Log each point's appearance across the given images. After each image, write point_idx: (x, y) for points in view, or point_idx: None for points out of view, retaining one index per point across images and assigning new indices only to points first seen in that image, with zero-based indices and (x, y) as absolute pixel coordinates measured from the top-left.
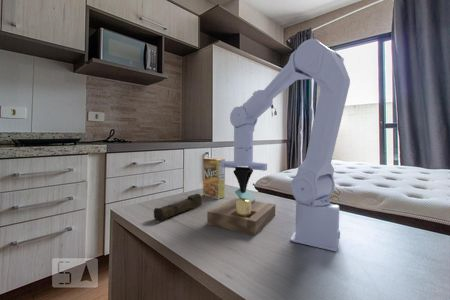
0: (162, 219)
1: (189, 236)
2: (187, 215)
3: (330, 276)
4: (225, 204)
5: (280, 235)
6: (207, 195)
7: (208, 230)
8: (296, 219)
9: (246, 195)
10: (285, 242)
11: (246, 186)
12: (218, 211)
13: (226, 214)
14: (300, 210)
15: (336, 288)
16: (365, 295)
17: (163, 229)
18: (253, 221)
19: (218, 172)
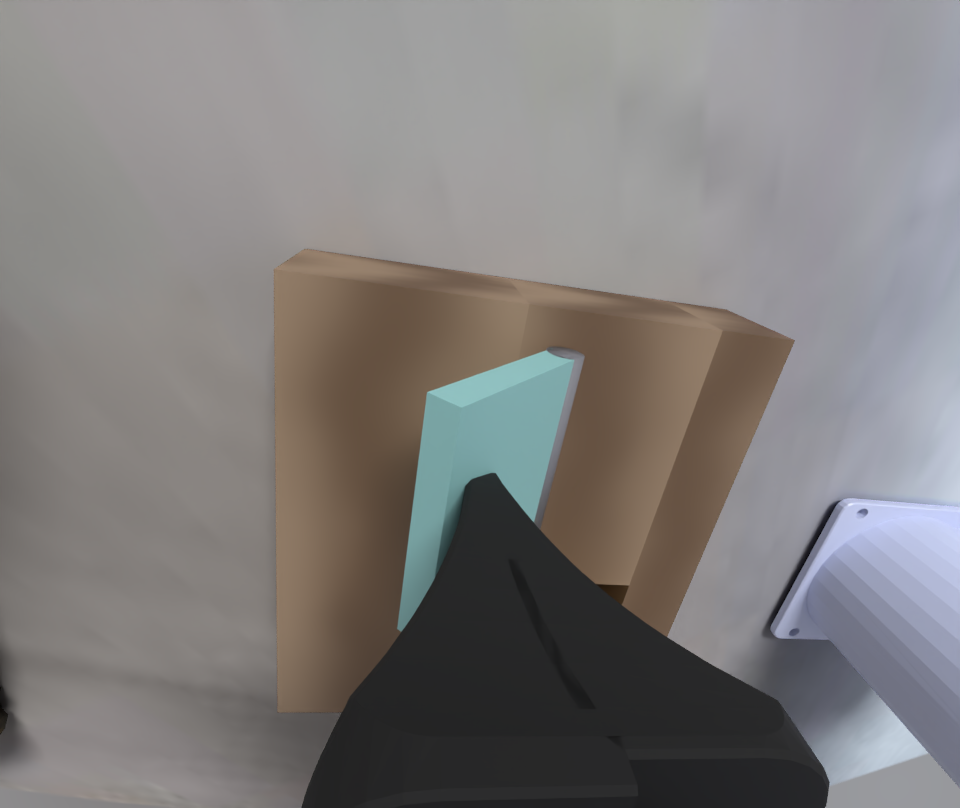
0: (4, 726)
1: (308, 752)
2: (50, 575)
3: (837, 743)
4: (314, 539)
5: (728, 591)
6: None
7: None
8: (878, 684)
9: (513, 486)
10: (742, 638)
11: (521, 515)
12: (353, 685)
13: None
14: (949, 776)
15: (832, 772)
16: (888, 766)
17: (126, 757)
18: None
19: None
